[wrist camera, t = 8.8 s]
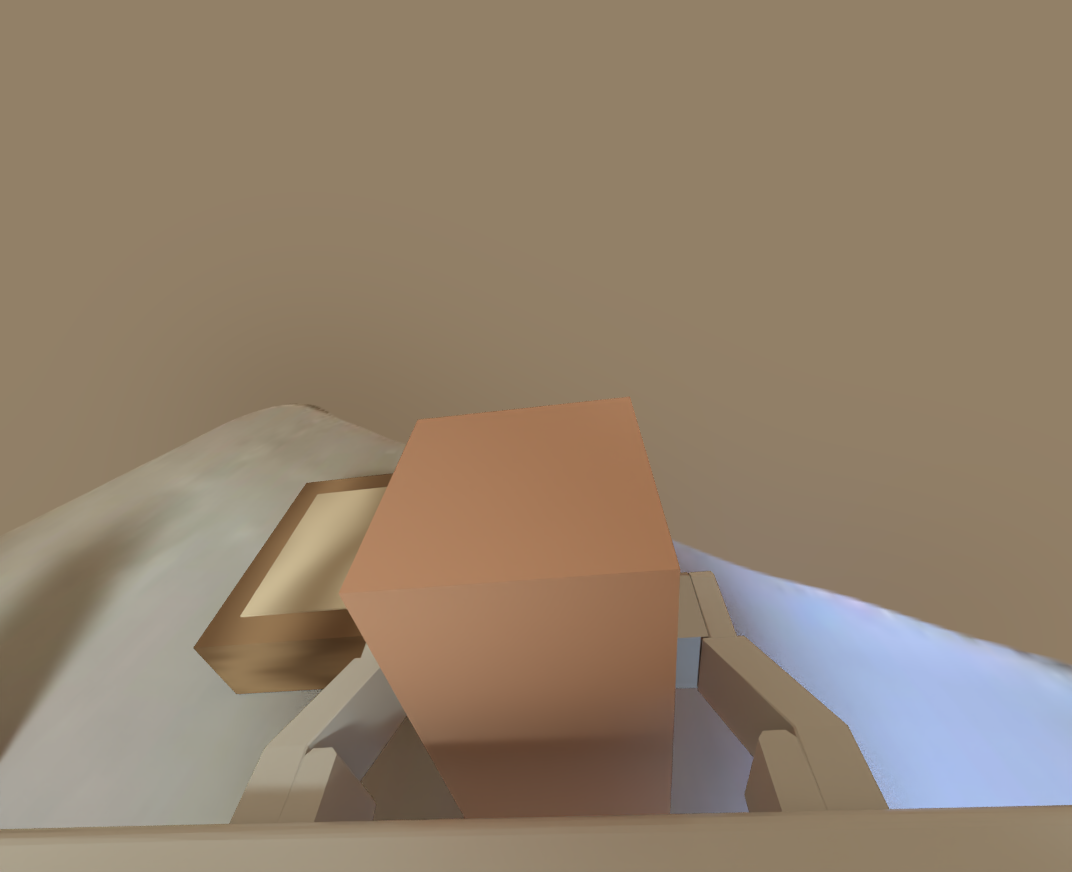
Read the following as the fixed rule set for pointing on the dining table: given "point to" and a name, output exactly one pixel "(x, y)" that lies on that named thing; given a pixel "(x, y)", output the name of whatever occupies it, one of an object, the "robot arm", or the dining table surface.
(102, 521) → the dining table surface
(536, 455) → the terracotta block
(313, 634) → the plinth
